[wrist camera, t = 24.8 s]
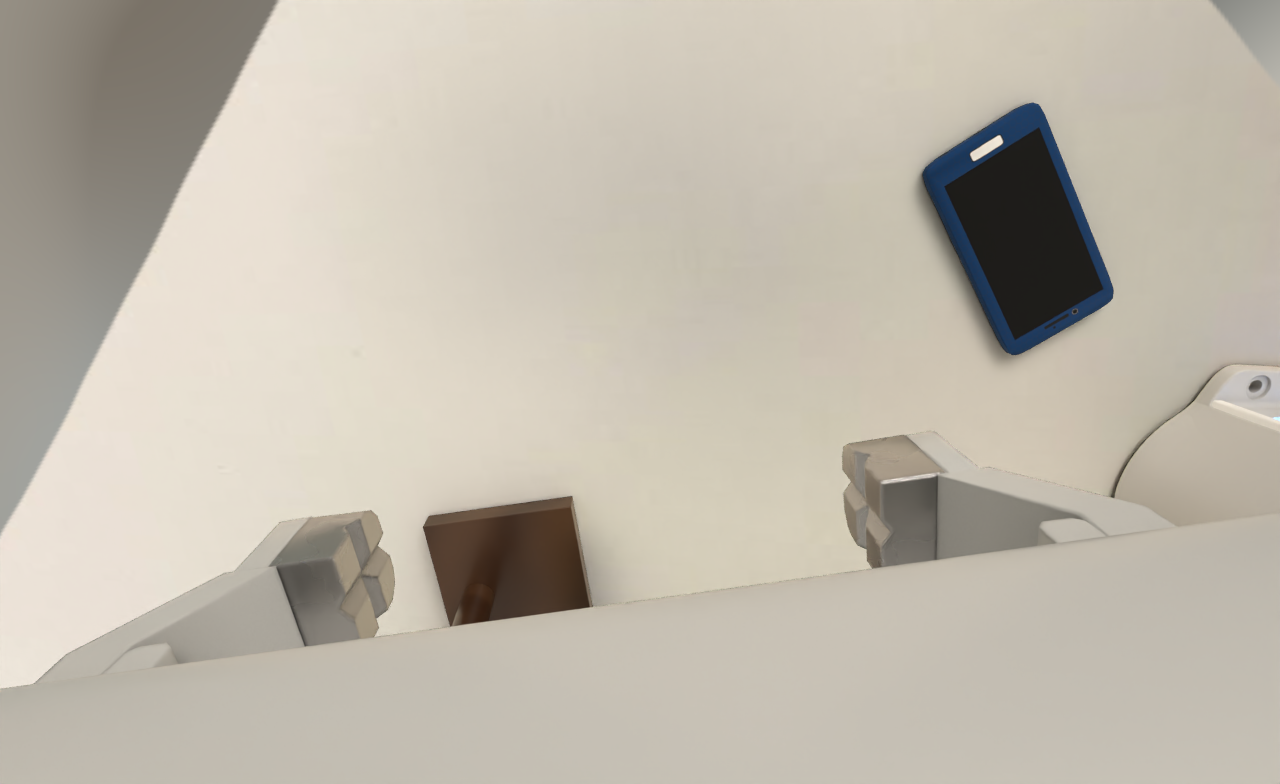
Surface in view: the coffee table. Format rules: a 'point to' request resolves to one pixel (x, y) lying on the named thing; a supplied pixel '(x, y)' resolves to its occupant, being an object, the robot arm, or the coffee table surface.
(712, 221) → the coffee table surface
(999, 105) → the coffee table surface
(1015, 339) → the cell phone
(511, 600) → the mug tree
